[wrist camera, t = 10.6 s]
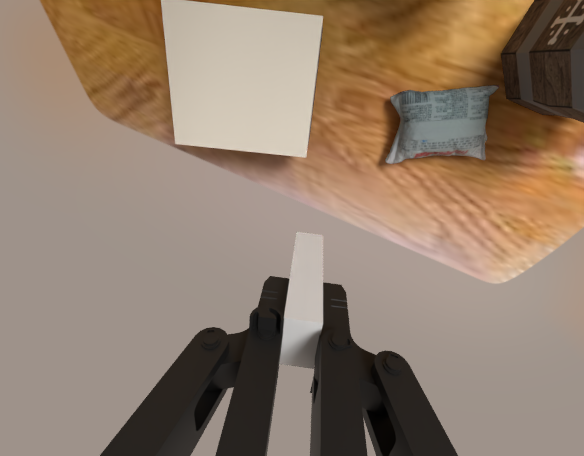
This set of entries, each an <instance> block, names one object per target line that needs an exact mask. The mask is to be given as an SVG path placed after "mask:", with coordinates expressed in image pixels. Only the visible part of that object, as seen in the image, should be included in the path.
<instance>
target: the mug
mask: <svg viewBox="0 0 584 456" xmlns="http://www.w3.org/2000/svg"><path fill="white" fill-rule="evenodd" d="M501 59H502V66H503V74H504V82H505V90H506V98H507V99H508V100H510V101H513V102H515V103H517V104H519V105H522V106H524V107H526V108H529V109H531V110H533V111H535V112H538V113H540V114H542V115H559V116H563V117H568V118H572V119H575V120H578V121H581V122H584V0H534V2H533V4H532V5H531V7H530V8H529V10H528V12H527V13H526V15H525V16H524V18H523V20H522V21H521V23H520V24H519V26H518V28H517V29H516V31H515V32H514V34H513V35H512V37H511V39H510V40H509V42H508V43H507V45H506V47H505V48H504V50H503V51H502V53H501Z"/></svg>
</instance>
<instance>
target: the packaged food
mask: <svg viewBox="0 0 584 456" xmlns="http://www.w3.org/2000/svg"><path fill="white" fill-rule="evenodd" d="M498 88H499V86H498V85H492V86H483V87H470V88H460V89H450V90H443V91H427V92H419V91H412V90H408V91H403V92H400V93H398V94H396V95H393V96H392V97H390V99H391V103H392V104H393V106H394V107H395V109H396V110H397V112H398V114H399V116H400V125H399V129H398V132H397V134H396V136H395V139H394V142H393V145H392V147H391V150H390V153H389V154H388V155H387V158H386V160H385V162H386V163H389V164H394V163H399V162H401V161H403V160H405V159H410V158H412V159H413V158H422V157H427V156H433V155H440V156H441V155H445V156H450V155H455V156H456V155H459V156H470V157H475V158H479V159H481V160H485V144H484V143H485V141H487V135H486V130H485V124H486V120H487V117H488V106H489V96H490V95H492V94H493V93H494V92H495V91H496V90H497V89H498ZM484 138H485V139H484ZM482 147H483V148H482Z"/></svg>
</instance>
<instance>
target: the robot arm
mask: <svg viewBox="0 0 584 456" xmlns="http://www.w3.org/2000/svg"><path fill="white" fill-rule="evenodd" d="M279 364H284V365H291V366H299V367H305V368H312V369H313V368H314V377H313V382H312V387H311V391H310V393H312V414H311V443H310V456H367V448H366V439H365V430H364V422H363V417H364V420H365V423H366V426H367V429H368V432H369V435H370V438H371V441H372V444H373V447H374V450H375V453H376V456H458V455H457V453H456V451H455V449H454V447H453V445H452V444H451V442H450V440H449V438H448V436H447V434H446V433H445V431H444V429H443V427H442V425H441V423H440V421H439V420H438V418H437V416H436V414H435V412H434V410H433V409H432V407H431V405H430V403H429V401H428V399H427V397H426V395H425V394H424V392H423V390H422V388H421V386H420V384H419V383H418V381H417V379H416V377H415V375H414V373H413V371H412V369H411V368H410V366H409V364H408V363H407V361H406V360H405V359H404V358H403V357H401V356H400V355H399V354H397V353H394V352H392V351H382V352H379V353H378V354H377V355H375V354H372V353H370V352H368V351H365V350H364V349H362V348H360V347H359V346H358V345H357V344H356V343H355V342H354V341H353V339H352V337H351V334H350V327H349V318H348V309H347V298H346V292H345V290H344V289H343V287H342V286H341V285H338V284H331V283H323V235H319V234H310V233H303V232H297V234H296V241H295V247H294V254H293V261H292V267H291V274H290V279H288V278H281V277H273V276H270V277H269V278H268V279H267V280H266V281H265V283H264V286H263V289H262V293H261V298H260V301H259V305H258V307H257V308H256V309H254V310H253V311H252V313H251V314H250V326H249V328H248V329H247V330H245V331H243V332H240V333H235V334H228V335H227V333H226V332H225V331H224V330H222V329H220V328H215V327H212V328H206V329H204V330H202V331H200V332H199V333H198V334H197V335H195V337H194V338H193V339H192V341H191V342H190V343H189V344H188V346H187V347H186V348H185V349H184V351H183V352H182V353H181V354H180V356H179V357H178V358H177V359H176V361H175V362H174V363H173V364H172V366H171V367H170V368H169V370H168V371H167V372H166V373H165V374H164V376H163V377H162V378H161V380H160V381H159V382H158V383H157V384H156V386H155V387H154V388H153V390H152V391H151V392H150V393H149V395H148V396H147V397H146V398H145V400H144V401H143V402H142V403H141V405H140V406H139V407H138V409H137V410H136V411H135V412H134V413H133V415H132V416H131V417H130V419H129V420H128V421H127V423H126V424H125V425H124V426H123V427H122V428H121V430H120V431H119V433H118V434H117V435H116V436H115V437H114V439H113V440H112V441H111V442H110V444H109V445H108V446H107V447H106V449H105V450H104V451H103V452H102V454H101V455H100V456H190V455H191V453H192V452H193V449H194V448H195V446H196V445H197V443H198V441H199V439H200V437H201V436H202V434H203V432H204V430H205V428H206V427H207V425H208V423H209V421H210V420H211V418H212V416H213V414H214V412H215V411H216V409H217V407H218V405H219V403H220V401H221V400H222V398H223V396H224V395H225V393H226V390H227V389H228V388H231V387H234V389H233V393H232V396H231V400H230V404H229V408H228V411H227V415H226V419H225V423H224V426H223V430H222V434H221V437H220V441H219V445H218V449H217V452H216V456H267V449H268V442H269V435H270V427H271V421H272V414H273V406H274V399H275V392H276V385H277V378H278V369H279ZM314 364H315V366H314Z"/></svg>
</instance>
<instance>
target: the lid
mask: <svg viewBox="0 0 584 456" xmlns="http://www.w3.org/2000/svg"><path fill="white" fill-rule="evenodd" d="M161 6H162V16H163V26H164V36H165V46H166V56H167V66H168V76H169V86H170V96H171V106H172V116H173V126H174V136H175V144H180V145H190V146H199V147H209V148H219V149H228V150H238V151H247V152H257V153H267V154H276V155H286V156H295V157H305V158H306V155H307V147H308V138H309V130H310V122H311V114H312V105H313V97H314V89H315V80H316V72H317V64H318V56H319V47H320V39H321V31H322V22H323V16H319V15H311V14H302V13H293V12H284V11H275V10H266V9H257V8H248V7H239V6H230V5H222V4H213V3H204V2H195V1H186V0H161Z"/></svg>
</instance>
